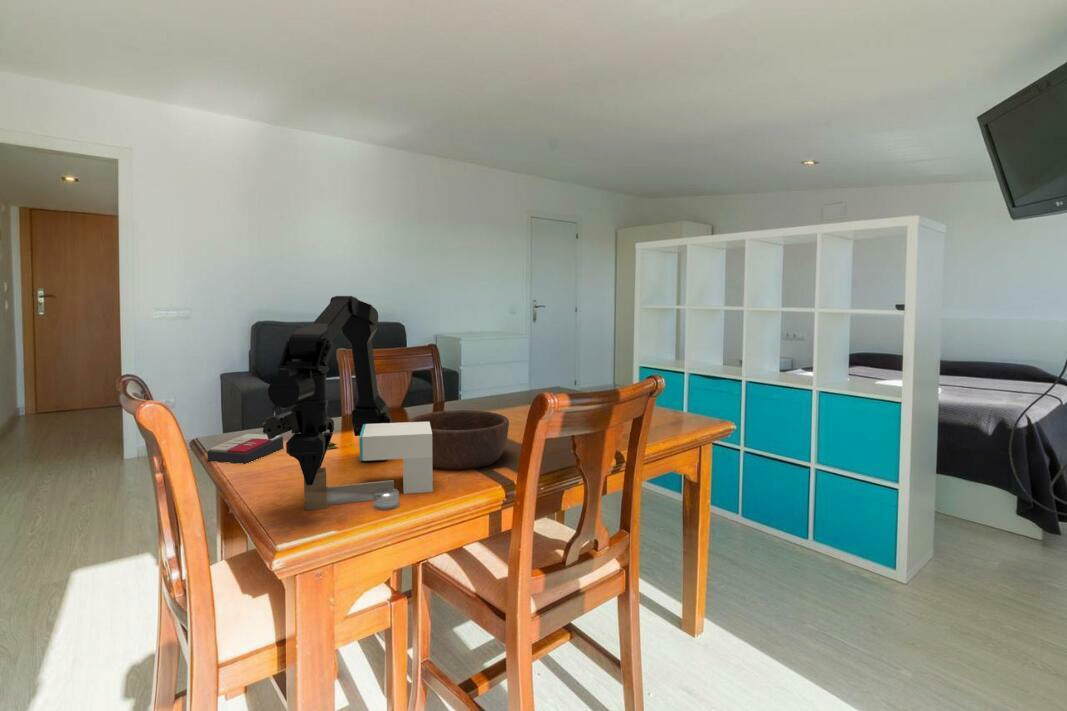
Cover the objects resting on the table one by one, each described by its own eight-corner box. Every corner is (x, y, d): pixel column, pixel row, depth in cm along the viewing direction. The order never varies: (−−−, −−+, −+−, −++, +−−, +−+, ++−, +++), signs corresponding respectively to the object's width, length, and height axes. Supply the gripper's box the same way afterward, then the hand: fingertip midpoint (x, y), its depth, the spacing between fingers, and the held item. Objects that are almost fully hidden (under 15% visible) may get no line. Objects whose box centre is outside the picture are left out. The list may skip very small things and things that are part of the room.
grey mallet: (304, 503, 115) (303, 469, 114) (392, 493, 121) (392, 461, 120) (304, 510, 111) (303, 475, 110) (395, 500, 117) (394, 466, 117)
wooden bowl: (521, 450, 156) (521, 413, 155) (489, 478, 132) (489, 434, 131) (435, 443, 163) (435, 407, 162) (390, 468, 139) (389, 426, 138)
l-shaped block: (364, 478, 131) (363, 423, 130) (429, 474, 134) (429, 421, 133) (360, 496, 119) (359, 436, 118) (432, 492, 122) (432, 433, 121)
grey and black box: (205, 448, 143) (247, 431, 157) (207, 465, 143) (248, 446, 158) (245, 451, 141) (283, 433, 155) (246, 468, 141) (284, 449, 156)
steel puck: (372, 503, 116) (371, 490, 115) (396, 500, 118) (396, 487, 117) (376, 512, 111) (376, 497, 111) (401, 508, 113) (401, 494, 113)
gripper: (276, 391, 118) (278, 466, 120) (253, 408, 100) (256, 496, 102) (333, 389, 121) (335, 463, 122) (321, 406, 103) (323, 492, 104)
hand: (313, 477), depth 113 cm, fingers open, 9 cm apart
